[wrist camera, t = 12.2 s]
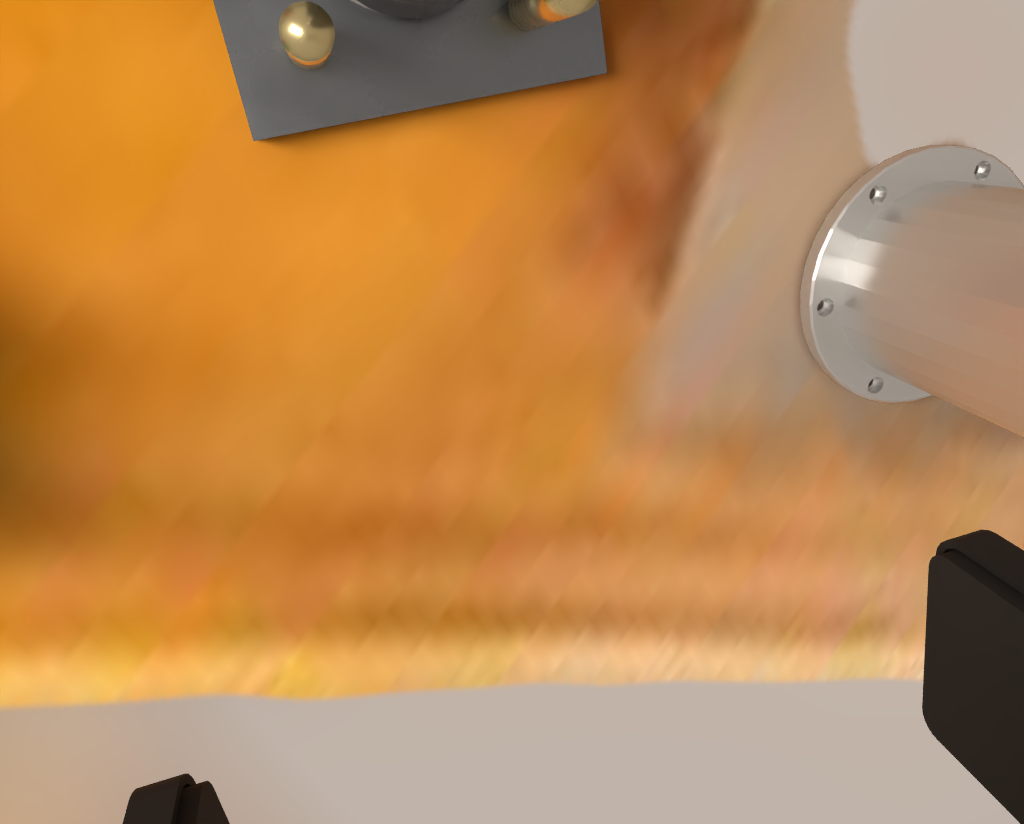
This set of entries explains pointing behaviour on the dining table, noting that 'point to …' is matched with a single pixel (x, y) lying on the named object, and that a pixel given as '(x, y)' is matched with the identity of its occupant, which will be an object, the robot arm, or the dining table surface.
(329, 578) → the dining table surface
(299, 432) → the dining table surface
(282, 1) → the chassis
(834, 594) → the dining table surface
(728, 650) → the dining table surface
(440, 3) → the supplement bottle
